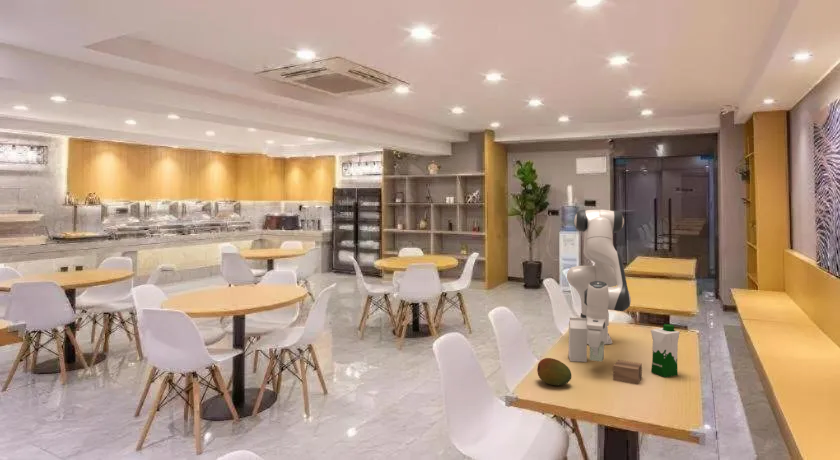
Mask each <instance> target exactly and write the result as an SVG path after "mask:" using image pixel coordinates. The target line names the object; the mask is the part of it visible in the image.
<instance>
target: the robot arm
mask: <svg viewBox="0 0 840 460" xmlns="http://www.w3.org/2000/svg"><path fill="white" fill-rule="evenodd" d="M573 219H574V220H573V223H574V226H575V229H576V230H577V231H578V232H583V233H584V239H583V240H584V242H583V256H584V257H585V258H586V259H587V260H589V261H592V262H594V265H576V266H571V267H570V268H569V269H568V271H567V273H566V280H567V282H568V283H569V284H570V285H571V286H572V287H573V288H574V289H575V290H576V291H577V292H578V294H579V297H580V305H581V306H580V307H581V308H580V309H581V312H580V317H579V318H586V324H587V326H586V327H587V345H588V347H589V349H590V348H593V355H595V356H597V355H598V348H599V346H600V344H601V342H602V341H603V342H604V345H613V340H612V338H611V336H610V333H609V327H608V326H609V325H610V323H609V320H610V318H609V317H610V312H609V310H612V311H617V312H624V311H626V310H627V309H629V308H630V307H631V302H632V299H631V294H630V291H629V289H628V283H627V277H626V273H625V268H624V262H623V258H622V255H621V253H620V252H619V251H618V250H616V248H615V246H614V240H613V239H614V237H613V236H614V233H615V234H616V233H619V232H621V231H622V229H623V228H624V224H625V219H624V216H623V213H622V212H621V211H618V210H615V209H614V210H608V209H588V210H586V209H581V210H578V211H577V212H576V213H575V216H574V218H573Z"/></svg>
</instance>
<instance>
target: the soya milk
mask: <svg viewBox="0 0 840 460" xmlns="http://www.w3.org/2000/svg"><path fill="white" fill-rule="evenodd" d="M650 334H651V336H652V337H651V338H652V357H651V358H652V361H651V368H650V369H651V371H650V372H651V373H652V374H654V375H657V376H659V377H663V378H669V377H676V376H678V375H679V374H678V373H679V372H678V350H679V349H678V347H679V346H678V343H679V338H680V334H681V333H680V331H677V330H675V325H674V324H671V323H670V324H669V323H664V324H663V327H659V328H654V329H650Z"/></svg>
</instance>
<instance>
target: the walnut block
mask: <svg viewBox="0 0 840 460" xmlns="http://www.w3.org/2000/svg"><path fill="white" fill-rule="evenodd" d="M612 366H613V367H612V368H613V369H612V373H613V374H612V378H613V379H612V380H613V381H617V382H621V383H627V384H628V383H629V384H633V385H639V383H640V381H641V380H642V377H643V376H642V373H643V372H642V371H643V364H642V363H641V362H635V361H630V360H629V361H628V360H622V359H618V360H617V361H616V362H615V363H614V364H613V365H612Z"/></svg>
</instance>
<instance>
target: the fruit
mask: <svg viewBox="0 0 840 460" xmlns="http://www.w3.org/2000/svg"><path fill="white" fill-rule="evenodd" d="M536 371H537V372H536V373H537V375H538V378H539V379H540V380H541V381H542V382H543V383H546V384H547V385H552V386H563V385H566V384H568V383H569V382H570V381H571V380H572V372H571V370H570V367H568V365H566V364H565V363H564V362H562V361H560V360H558V359H556V358H551V357H544V358H542V359H541V360H540V361H539V362H538V364H537V369H536Z"/></svg>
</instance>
